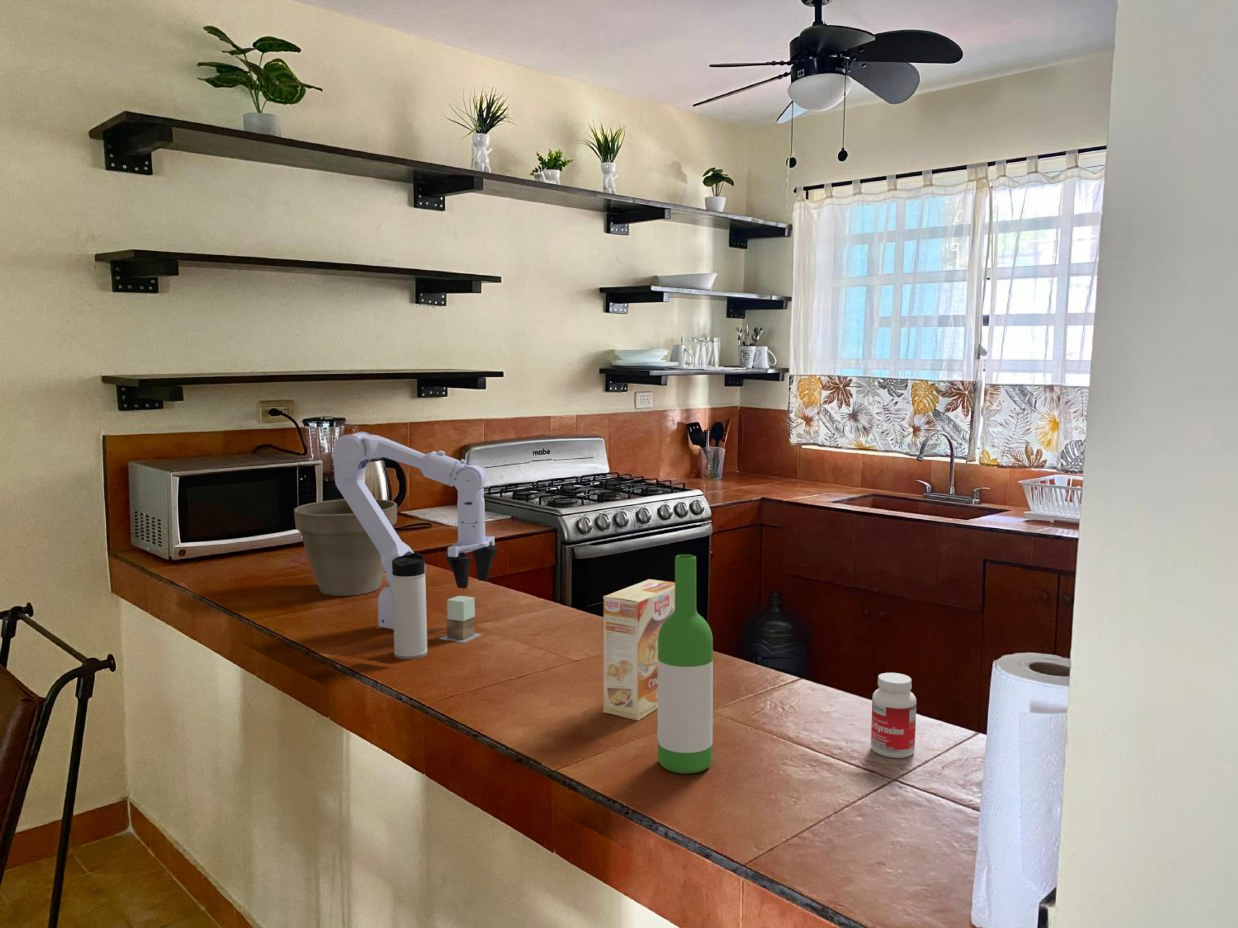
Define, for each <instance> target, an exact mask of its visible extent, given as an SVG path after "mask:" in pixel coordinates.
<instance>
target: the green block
mask: <svg viewBox="0 0 1238 928" xmlns="http://www.w3.org/2000/svg"><path fill="white" fill-rule="evenodd" d="M475 601H476V600H475V596H474V597H473V596H472V597H471V596H466V595H457V596H453V597H451V598H448V599H446V604H447V606H446V607H447V609H446V610H447V611H446V612H447V618H448V619H451V620H459V621H465V620H468V619H470V618H472V617H474V618H475V617H476V606H475V603H476V602H475Z"/></svg>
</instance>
